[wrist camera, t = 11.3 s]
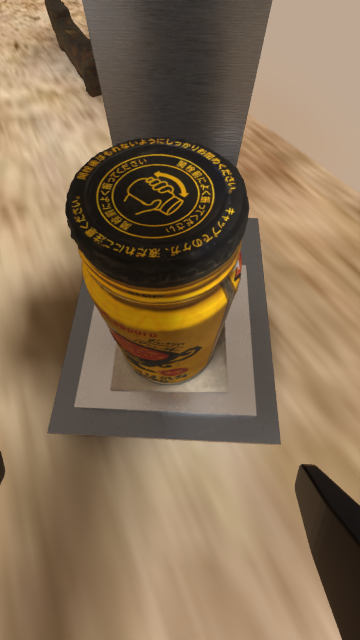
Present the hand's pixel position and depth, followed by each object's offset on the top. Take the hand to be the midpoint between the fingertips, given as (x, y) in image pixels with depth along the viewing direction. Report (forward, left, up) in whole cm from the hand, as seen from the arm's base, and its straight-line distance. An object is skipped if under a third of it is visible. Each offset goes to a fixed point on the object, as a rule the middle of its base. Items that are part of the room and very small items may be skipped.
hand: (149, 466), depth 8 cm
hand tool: (+37, -35, -11) cm, 53 cm away
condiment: (+4, -7, -8) cm, 11 cm away
